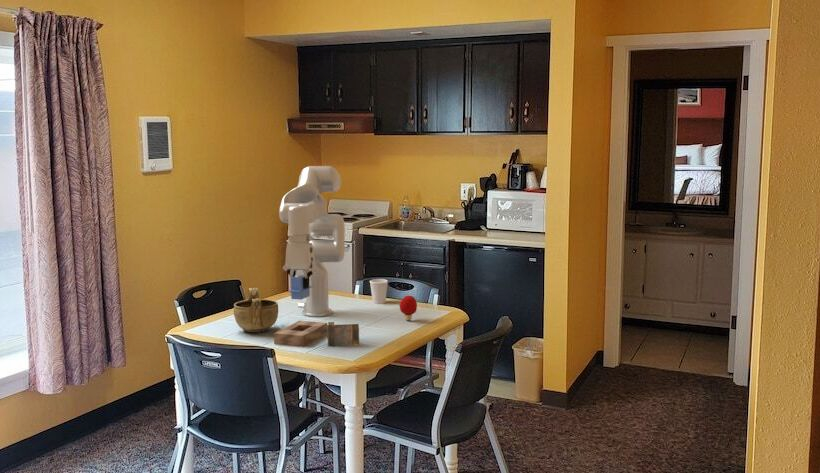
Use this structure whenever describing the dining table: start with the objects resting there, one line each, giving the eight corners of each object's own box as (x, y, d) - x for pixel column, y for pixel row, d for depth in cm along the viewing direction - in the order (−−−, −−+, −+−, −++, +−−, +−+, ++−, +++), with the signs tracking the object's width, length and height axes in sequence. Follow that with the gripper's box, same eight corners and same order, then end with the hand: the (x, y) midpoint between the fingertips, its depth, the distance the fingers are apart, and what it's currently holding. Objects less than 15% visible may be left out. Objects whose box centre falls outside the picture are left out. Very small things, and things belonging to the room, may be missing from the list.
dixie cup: (371, 300, 359) (371, 278, 358) (389, 300, 358) (389, 279, 357) (368, 304, 351) (367, 282, 350) (386, 304, 350) (386, 282, 349)
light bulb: (414, 324, 315) (414, 299, 314) (397, 323, 317) (397, 298, 315) (419, 318, 324) (418, 294, 323) (402, 317, 326) (402, 294, 325)
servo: (302, 294, 298) (302, 271, 297) (312, 294, 297) (311, 272, 296) (288, 300, 288) (288, 276, 287) (298, 300, 287) (297, 277, 286)
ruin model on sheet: (327, 347, 284) (327, 321, 282) (327, 345, 287) (327, 319, 285) (359, 346, 285) (359, 320, 284) (358, 344, 288) (358, 318, 287)
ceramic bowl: (233, 325, 315) (232, 288, 313) (276, 322, 320) (275, 286, 317) (235, 339, 294) (234, 300, 292) (281, 336, 298) (280, 297, 296)
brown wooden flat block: (274, 343, 287) (273, 333, 287) (299, 330, 306) (299, 320, 306) (303, 346, 283) (303, 335, 283) (327, 333, 302) (327, 322, 302)
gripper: (324, 238, 291) (325, 287, 293) (283, 236, 296) (285, 284, 299) (315, 241, 284) (316, 291, 286) (274, 239, 289) (275, 288, 291)
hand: (300, 287), depth 292 cm, fingers closed on servo, 4 cm apart
